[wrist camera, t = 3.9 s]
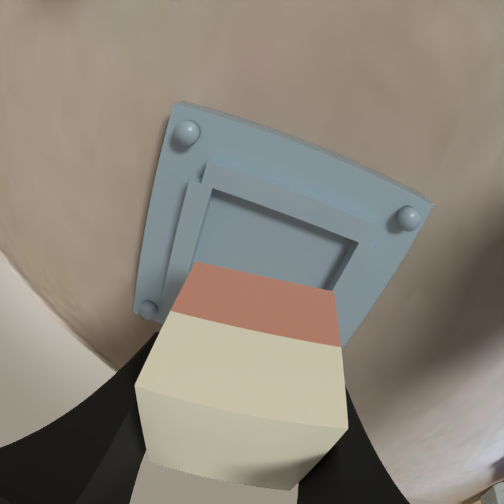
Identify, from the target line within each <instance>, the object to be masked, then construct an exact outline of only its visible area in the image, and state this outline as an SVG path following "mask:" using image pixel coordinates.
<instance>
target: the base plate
mask: <svg viewBox="0 0 504 504" xmlns="http://www.w3.org/2000/svg"><path fill="white" fill-rule="evenodd" d="M432 207H433V204H432V203H431V202H430V201H429V200H428V199H427V198H426V197H425V196H423V195H421V194H419V193H418V192H416V191H414V190H412V189H410V188H408V187H406V186H404V185H402V184H400V183H398V182H396V181H394V180H392V179H390V178H388V177H385V176H383V175H381V174H379V173H377V172H375V171H373V170H371V169H368V168H366V167H364V166H362V165H360V164H357V163H355V162H353V161H351V160H348V159H346V158H344V157H341V156H339V155H337V154H334V153H332V152H330V151H327V150H325V149H322V148H320V147H317V146H315V145H312V144H310V143H307V142H305V141H302V140H300V139H297V138H294V137H292V136H289V135H286V134H284V133H281V132H278V131H275V130H273V129H270V128H267V127H264V126H261V125H258V124H256V123H253V122H250V121H247V120H244V119H241V118H237V117H234V116H231V115H228V114H225V113H222V112H218V111H215V110H212V109H208V108H205V107H201V106H198V105H194V104H191V103H187V102H183V101H182V102H177V103H174V104H173V107H172V111H171V115H170V118H169V122H168V126H167V130H166V134H165V138H164V142H163V146H162V150H161V154H160V158H159V162H158V167H157V171H156V176H155V180H154V185H153V190H152V195H151V200H150V205H149V210H148V215H147V220H146V226H145V232H144V237H143V243H142V249H141V256H140V262H139V269H138V276H137V283H136V291H135V299H134V307H133V313H134V314H137V315H139V316H140V317H141V318H143V319H144V320H147V321H151V320H152V321H154V322H157V323H159V324H162V325H164V323H165V321H166V319H167V317H168V315H169V313H170V310H171V308H172V306H173V304H174V302H175V301H176V299H177V297H178V295H179V293H180V291H181V289H182V287H183V285H184V283H185V281H186V279H187V277H188V275H189V273H190V271H191V269H192V267H193V265H194V263H195V261H197V262H201V263H206V264H210V265H214V266H219V267H223V268H228V269H232V270H236V271H241V272H245V273H250V274H254V275H259V276H263V277H268V278H273V279H277V280H282V281H286V282H291V283H296V284H300V285H305V286H310V287H314V288H319V289H324V290H329V291H333V292H334V297H335V304H336V311H337V319H338V327H339V335H340V343H341V350H342V348H343V347H344V346H345V344H346V343H347V342H348V340H349V339H350V338H351V336H352V335H353V334H354V332H355V331H356V329H357V328H358V327H359V325H360V324H361V322H362V321H363V319H364V318H365V317H366V315H367V314H368V312H369V311H370V309H371V308H372V306H373V305H374V303H375V302H376V300H377V299H378V297H379V296H380V294H381V293H382V291H383V290H384V288H385V287H386V285H387V284H388V282H389V281H390V279H391V278H392V276H393V274H394V273H395V271H396V270H397V268H398V266H399V265H400V263H401V261H402V260H403V258H404V257H405V255H406V253H407V252H408V250H409V248H410V246H411V245H412V243H413V241H414V240H415V238H416V236H417V234H418V233H419V231H420V229H421V227H422V226H423V224H424V222H425V220H426V218H427V217H428V215H429V213H430V211H431V209H432Z"/></svg>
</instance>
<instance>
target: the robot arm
mask: <svg viewBox="0 0 504 504" xmlns="http://www.w3.org/2000/svg"><path fill="white" fill-rule="evenodd" d="M159 333H160V332H156V333H154V335H153V336H152V337H151V338H150V339H149V340H148V341H147V343H146V344H145V345H144V346H143V347H142V348H141V349H140V350H139V351H138V352H137V353H136V354H135V355H134V356H133V357H132V358H131V359H130V360H129V361H128V362H127V363H126V364H125V365H124V366H123V367H122V368H121V369H120V370H119V371H118V372H117V373H116V374H115V375H114V376H113V377H112V378H111V379H109V380H108V381H107V382H106V383H105V384H104V385H102V386H101V387H100V388H99V389H98V390H97V391H95V392H94V393H93V394H92V395H91V396H89V397H88V398H87V399H86V400H84V401H83V402H82V403H80V404H79V405H78V406H77V407H75V408H73V409H72V410H71V411H69V412H68V413H66V414H65V415H63V416H62V417H60V418H58V419H57V420H55V421H54V422H52V423H50V424H49V425H47V426H45V427H43V428H42V429H40V430H38V431H36V432H34V433H32V434H30V435H28V436H26V437H24V438H22V439H20V440H18V441H16V442H13V443H11V444H9V445H6V446H4V447H1V448H0V504H129V503H130V499H131V495H132V492H133V488H134V485H135V481H136V478H137V474H138V471H139V468H140V464H141V462H142V459H143V456H144V454H145V451H146V445H145V440H144V435H143V431H142V425H141V420H140V415H139V409H138V403H137V397H136V391H135V383H136V381H137V379H138V377H139V375H140V373H141V370H142V368H143V366H144V364H145V362H146V360H147V358H148V356H149V354H150V351H151V349H152V347H153V345H154V343H155V341H156V339H157V337H158V335H159ZM345 392H346V403H347V416H348V429H347V431H346V432H345V433H344V434H343V435H342V437H341V438H340V439H339V440H338V441H337V442H336V443H335V445H334V446H333V447H332V448H331V449H330V450H329V451H328V452H327V453H326V455H325V456H324V457H323V458H322V459H321V460H320V461H319V462H318V463H317V464H316V465H315V466H314V467H313V468H312V469H311V470H310V471H309V472H308V473H307V474H306V475H305V476H304V477H303V478H302V479H301V480H300V481H299V487H298V499H297V504H410V503H409V502H408V501H407V500H406V498H405V497H404V496H403V494H402V493H401V492H400V490H399V489H398V487H397V486H396V485H395V483H394V482H393V480H392V479H391V477H390V475H389V474H388V472H387V471H386V469H385V467H384V466H383V464H382V462H381V461H380V459H379V457H378V455H377V453H376V452H375V450H374V448H373V446H372V444H371V442H370V440H369V438H368V436H367V434H366V432H365V430H364V428H363V425H362V423H361V421H360V419H359V417H358V415H357V412H356V410H355V408H354V405H353V403H352V400H351V398H350V396H349V393H348V391H347V388H346V386H345Z"/></svg>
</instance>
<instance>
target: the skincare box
mask: <svg viewBox="0 0 504 504" xmlns="http://www.w3.org/2000/svg"><path fill="white" fill-rule="evenodd" d="M480 499H481V504H504V481H503V482H500V483H498V484H495V485H493V486H492V487H491V488H490V489H489V490H488V491H487V492H486V493H484V494H483V495H482V496H481V497H480Z"/></svg>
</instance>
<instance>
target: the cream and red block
mask: <svg viewBox="0 0 504 504" xmlns="http://www.w3.org/2000/svg"><path fill="white" fill-rule="evenodd" d="M135 391H136V397H137V403H138V409H139V415H140V420H141V425H142V431H143V435H144V440H145V445H146V450H147V454H148V459H149V462H152V463H155V464H158V465H161V466H165V467H168V468H172V469H175V470H179V471H183V472H187V473H191V474H195V475H199V476H203V477H208V478H212V479H217V480H222V481H227V482H232V483H238V484H244V485H250V486H256V487H264V488H271V489H280V490H289V491H290V490H291V489H292V488H293V487H294V486H295V485H296V484H297V483H298V482H299V481H300V480H301V479H302V478H303V477H304V476H305V475H306V474H307V473H308V472H309V471H310V470H311V469H312V468H313V467H314V466H315V465H316V464H317V463H318V462H319V461H320V460H321V459H322V458H323V457H324V456H325V455H326V453H327V452H328V451H329V450H330V449H331V448H332V447H333V446H334V445H335V443H336V442H337V441H338V440H339V439H340V438H341V437H342V435H343V434H344V433H345V432H346V431H347V429H348V416H347V403H346V392H345V381H344V371H343V361H342V352H341V343H340V335H339V327H338V319H337V311H336V304H335V297H334V292H333V291H329V290H324V289H319V288H314V287H310V286H305V285H300V284H296V283H291V282H286V281H282V280H277V279H273V278H268V277H263V276H259V275H254V274H250V273H245V272H241V271H236V270H232V269H228V268H223V267H219V266H214V265H210V264H206V263H201V262H197V261H195V263H194V265H193V267H192V269H191V271H190V273H189V275H188V277H187V279H186V281H185V283H184V285H183V287H182V289H181V291H180V293H179V295H178V297H177V299H176V301H175V302H174V304H173V306H172V308H171V310H170V313H169V315H168V317H167V319H166V321H165V323H164V325H163V327H162V329H161V331H160V333H159V335H158V337H157V339H156V341H155V343H154V345H153V347H152V349H151V351H150V354H149V356H148V358H147V360H146V362H145V364H144V366H143V368H142V370H141V373H140V375H139V377H138V379H137V381H136V383H135Z"/></svg>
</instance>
